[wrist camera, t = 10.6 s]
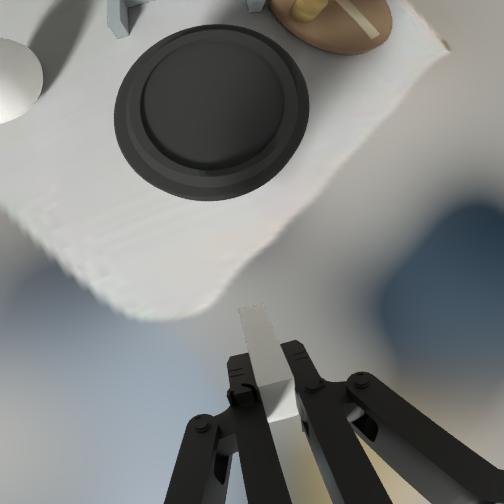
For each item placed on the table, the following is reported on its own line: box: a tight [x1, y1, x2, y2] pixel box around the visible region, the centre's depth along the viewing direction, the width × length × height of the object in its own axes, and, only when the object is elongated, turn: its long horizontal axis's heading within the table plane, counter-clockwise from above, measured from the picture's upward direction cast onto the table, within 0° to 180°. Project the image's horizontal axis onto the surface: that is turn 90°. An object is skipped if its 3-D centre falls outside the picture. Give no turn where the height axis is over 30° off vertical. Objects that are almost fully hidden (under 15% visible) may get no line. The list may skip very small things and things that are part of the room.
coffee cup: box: [114, 24, 309, 201], centre depth 16 cm, size 9×9×15 cm
